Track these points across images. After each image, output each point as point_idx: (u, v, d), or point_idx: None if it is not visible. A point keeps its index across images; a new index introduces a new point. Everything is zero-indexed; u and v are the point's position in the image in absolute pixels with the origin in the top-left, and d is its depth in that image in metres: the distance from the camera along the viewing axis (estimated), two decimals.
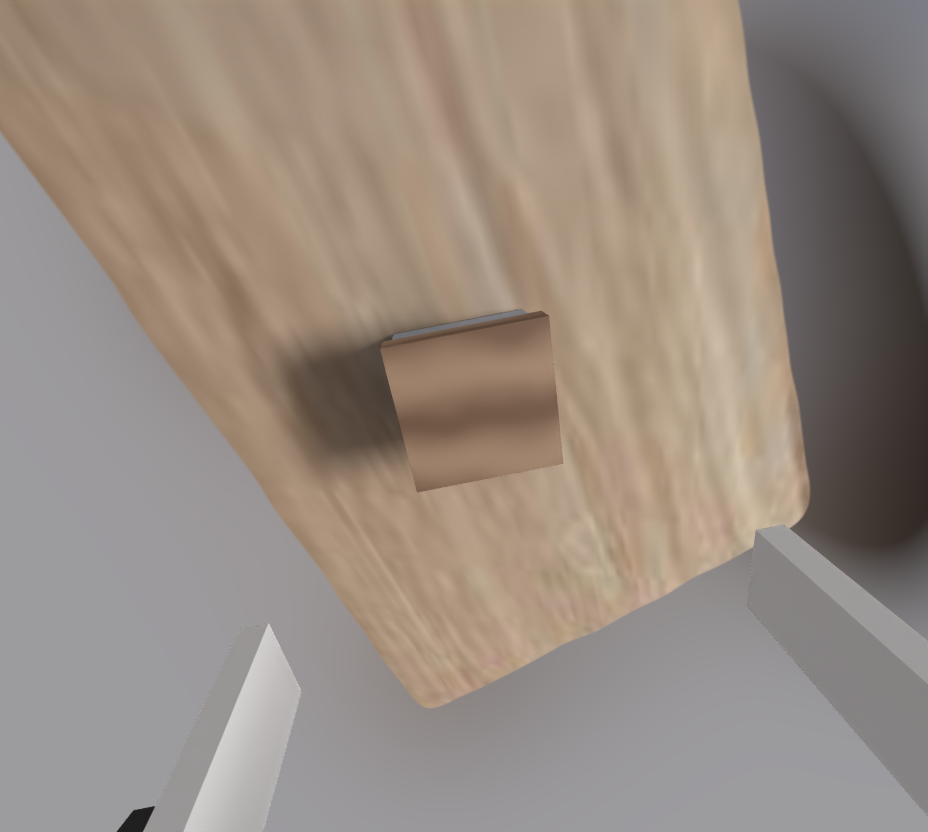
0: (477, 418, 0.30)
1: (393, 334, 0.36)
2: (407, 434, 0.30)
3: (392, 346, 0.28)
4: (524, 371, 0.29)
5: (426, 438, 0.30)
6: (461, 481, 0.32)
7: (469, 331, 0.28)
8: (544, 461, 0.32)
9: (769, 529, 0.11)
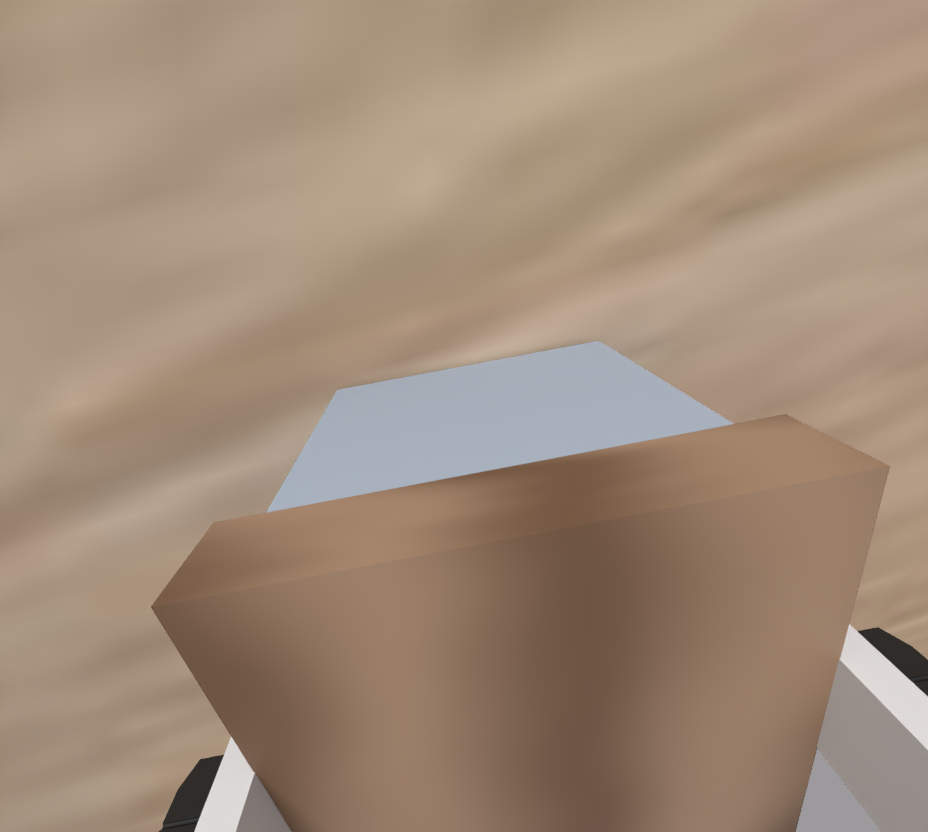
0: (581, 758, 0.09)
1: None
2: None
3: None
4: (409, 655, 0.07)
5: None
6: (803, 769, 0.09)
7: (273, 797, 0.08)
8: (838, 546, 0.07)
9: None
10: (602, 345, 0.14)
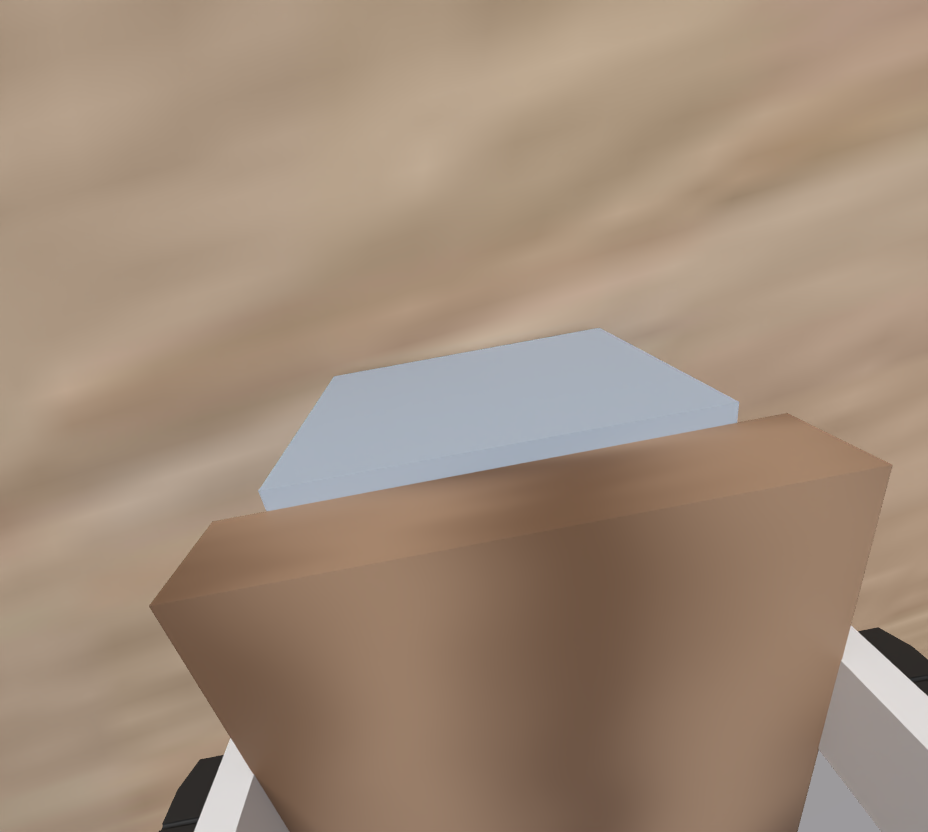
0: (582, 759, 0.08)
1: None
2: None
3: None
4: (408, 655, 0.07)
5: None
6: (805, 770, 0.09)
7: (272, 798, 0.08)
8: (841, 546, 0.07)
9: None
10: (603, 332, 0.14)
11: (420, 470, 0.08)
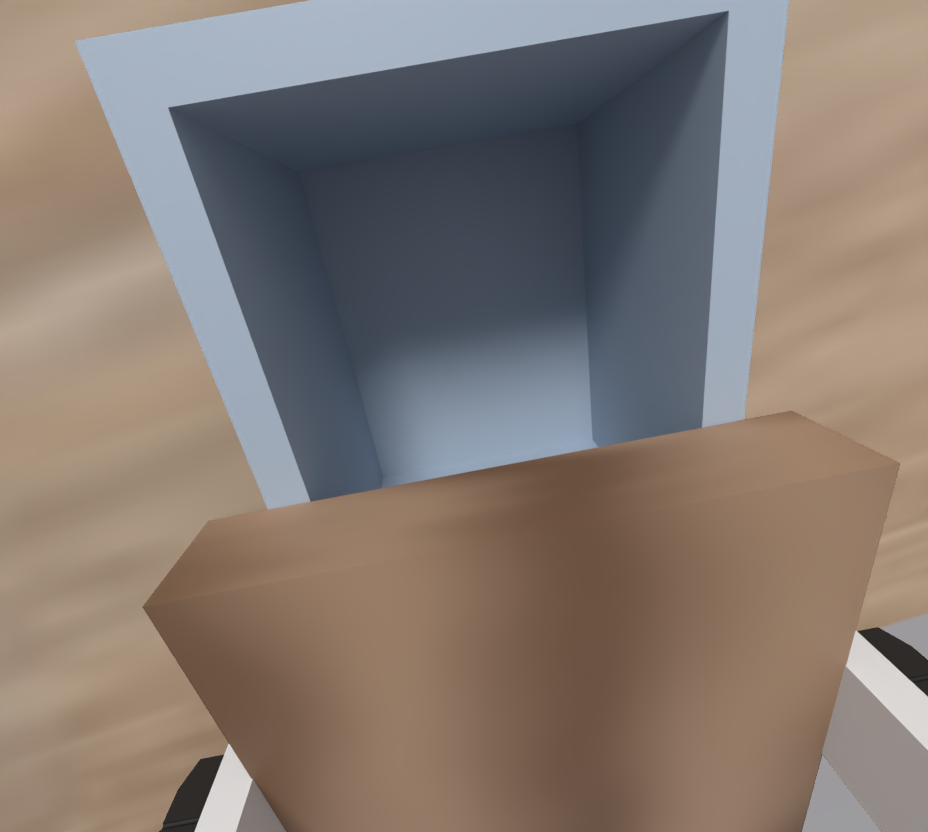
0: (582, 762, 0.08)
1: None
2: None
3: None
4: (407, 657, 0.07)
5: None
6: (809, 773, 0.09)
7: (269, 801, 0.08)
8: (847, 546, 0.07)
9: None
10: None
11: (320, 19, 0.05)
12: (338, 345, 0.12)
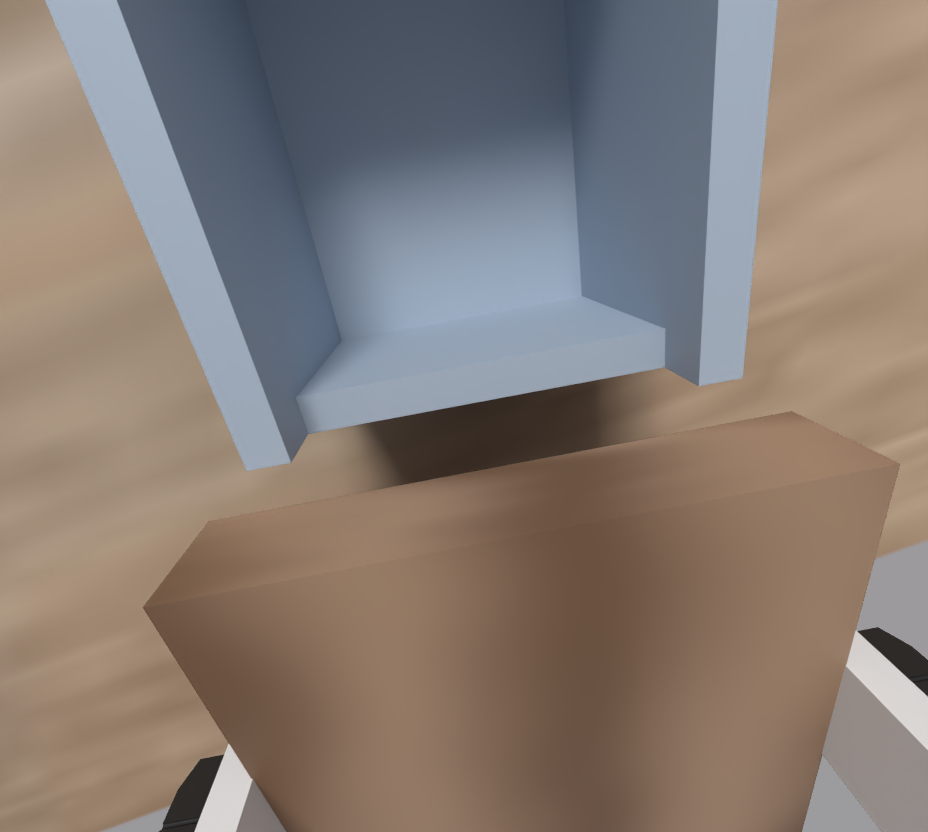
0: (583, 762, 0.08)
1: None
2: None
3: None
4: (407, 657, 0.07)
5: None
6: (809, 773, 0.09)
7: (269, 800, 0.08)
8: (846, 546, 0.07)
9: None
10: None
11: None
12: (275, 145, 0.10)
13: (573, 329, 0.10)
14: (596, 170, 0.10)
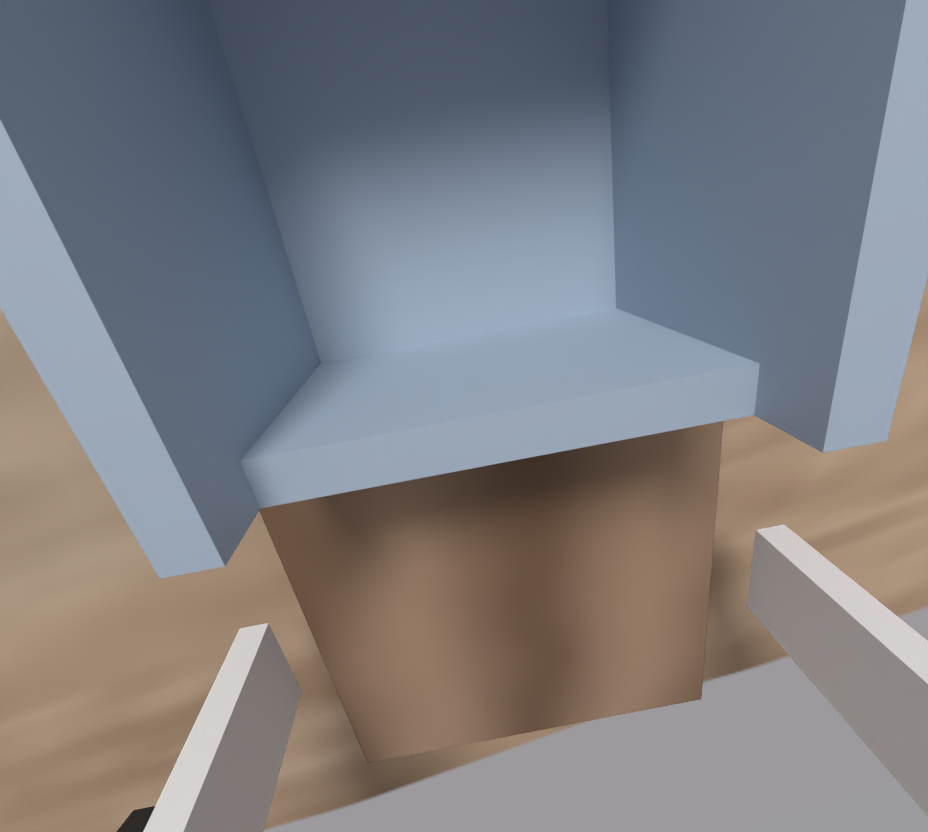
0: (534, 608, 0.12)
1: None
2: (557, 718, 0.14)
3: (362, 744, 0.14)
4: (411, 516, 0.10)
5: (573, 690, 0.13)
6: (700, 626, 0.13)
7: (313, 632, 0.12)
8: (700, 441, 0.10)
9: (769, 529, 0.11)
10: None
11: None
12: (226, 114, 0.08)
13: (621, 359, 0.07)
14: (647, 148, 0.08)
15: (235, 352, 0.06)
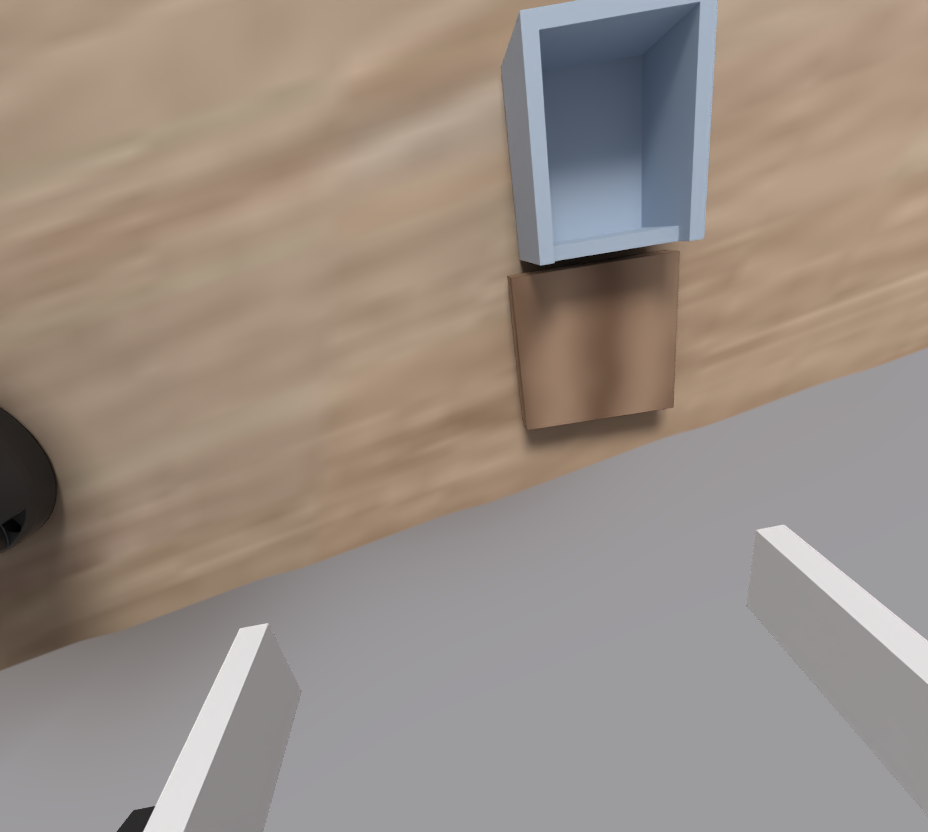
0: (605, 348, 0.30)
1: None
2: (610, 412, 0.32)
3: (526, 419, 0.32)
4: (564, 300, 0.29)
5: (617, 396, 0.32)
6: (672, 364, 0.31)
7: (519, 354, 0.30)
8: (670, 274, 0.28)
9: (769, 528, 0.11)
10: None
11: (585, 4, 0.19)
12: None
13: (643, 230, 0.25)
14: (653, 170, 0.26)
15: None
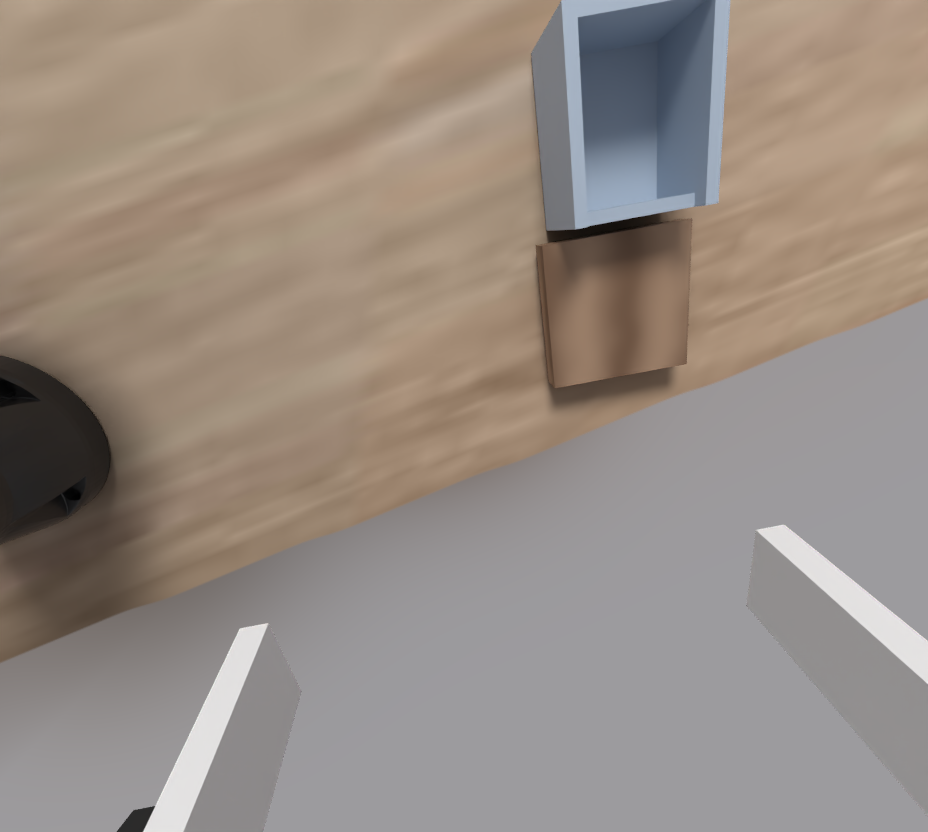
0: (625, 309, 0.33)
1: (546, 230, 0.33)
2: (629, 370, 0.35)
3: (554, 378, 0.35)
4: (589, 266, 0.32)
5: (636, 354, 0.35)
6: (685, 323, 0.34)
7: (548, 317, 0.33)
8: (684, 240, 0.32)
9: (769, 529, 0.11)
10: None
11: None
12: None
13: (662, 198, 0.29)
14: (668, 145, 0.29)
15: None
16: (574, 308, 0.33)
